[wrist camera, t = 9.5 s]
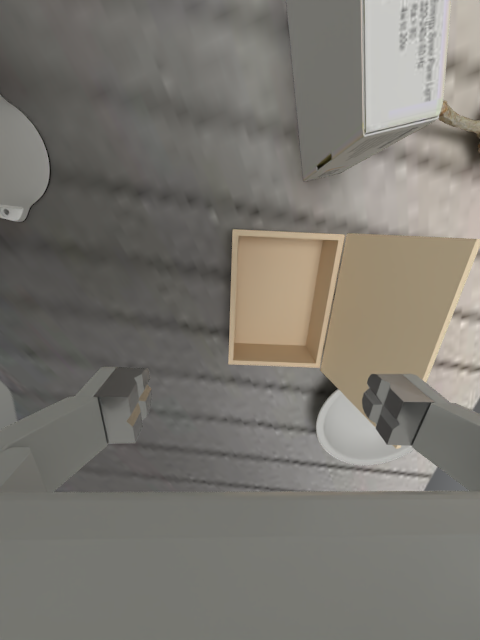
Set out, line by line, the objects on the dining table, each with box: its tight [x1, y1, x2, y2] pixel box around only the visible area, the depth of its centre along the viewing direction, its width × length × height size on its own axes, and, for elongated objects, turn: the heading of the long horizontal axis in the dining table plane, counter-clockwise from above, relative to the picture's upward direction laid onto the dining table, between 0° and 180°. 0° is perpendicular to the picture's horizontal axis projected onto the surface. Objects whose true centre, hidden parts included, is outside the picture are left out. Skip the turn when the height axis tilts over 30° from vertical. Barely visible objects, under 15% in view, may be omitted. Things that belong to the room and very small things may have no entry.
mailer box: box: [228, 229, 345, 368], centre depth 41 cm, size 16×22×8 cm
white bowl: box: [316, 389, 414, 465], centre depth 50 cm, size 24×24×7 cm
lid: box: [320, 233, 480, 449], centre depth 30 cm, size 16×22×1 cm
